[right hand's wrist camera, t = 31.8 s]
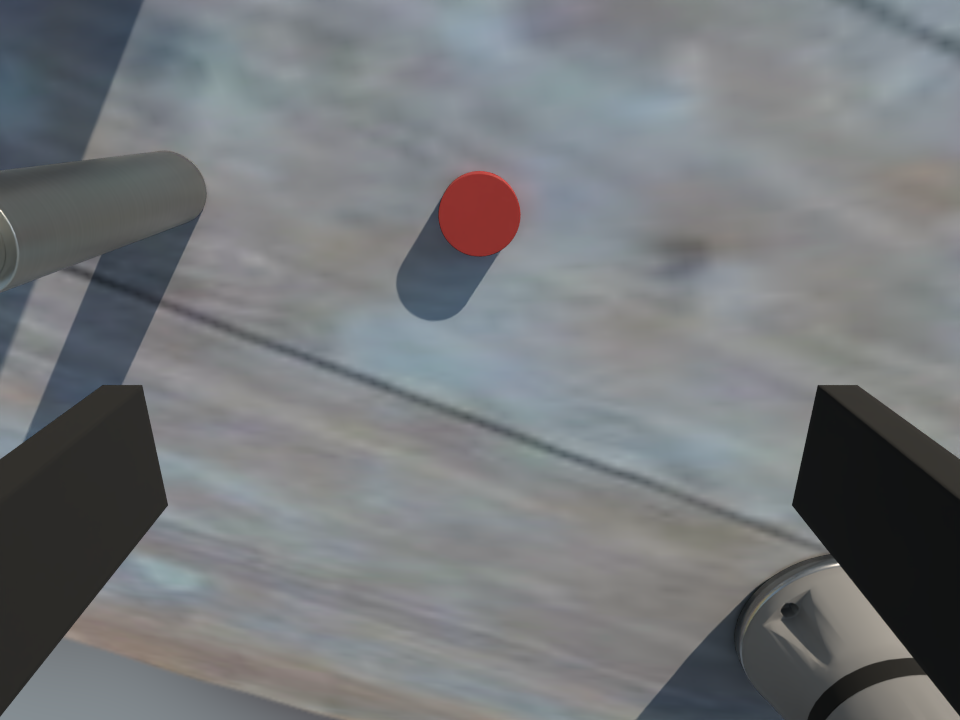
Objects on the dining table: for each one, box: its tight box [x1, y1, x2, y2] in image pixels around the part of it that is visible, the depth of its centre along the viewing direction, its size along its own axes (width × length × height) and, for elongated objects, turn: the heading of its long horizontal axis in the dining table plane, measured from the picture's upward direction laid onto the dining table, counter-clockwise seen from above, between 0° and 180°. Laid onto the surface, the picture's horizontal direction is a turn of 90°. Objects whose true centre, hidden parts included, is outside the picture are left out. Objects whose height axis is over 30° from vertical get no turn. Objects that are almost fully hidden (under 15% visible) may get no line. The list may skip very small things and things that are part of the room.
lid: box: [438, 171, 520, 256], centre depth 39 cm, size 5×5×2 cm
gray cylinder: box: [0, 151, 206, 293], centre depth 31 cm, size 4×4×19 cm
